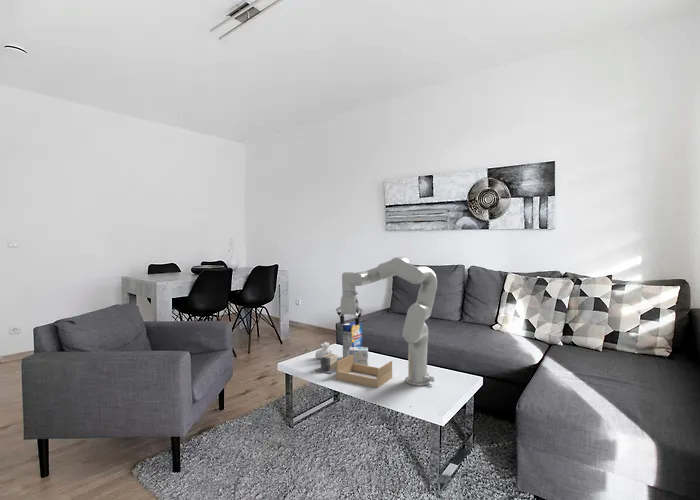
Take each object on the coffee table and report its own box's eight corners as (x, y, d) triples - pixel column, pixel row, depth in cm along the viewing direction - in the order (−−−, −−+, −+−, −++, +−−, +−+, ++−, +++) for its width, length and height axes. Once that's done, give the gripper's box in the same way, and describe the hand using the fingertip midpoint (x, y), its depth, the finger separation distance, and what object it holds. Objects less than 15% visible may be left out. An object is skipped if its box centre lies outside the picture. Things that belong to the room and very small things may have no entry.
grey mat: (341, 368, 227) (341, 366, 227) (330, 374, 217) (330, 372, 217) (327, 365, 232) (327, 364, 232) (315, 370, 222) (315, 369, 222)
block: (337, 367, 227) (337, 354, 227) (328, 371, 219) (328, 358, 219) (329, 365, 230) (329, 353, 230) (320, 369, 222) (320, 357, 222)
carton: (392, 377, 211) (392, 361, 211) (378, 387, 197) (378, 369, 197) (352, 369, 224) (352, 354, 224) (336, 378, 210) (336, 361, 210)
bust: (316, 363, 242) (322, 351, 236) (311, 354, 246) (317, 342, 241) (332, 360, 249) (339, 348, 244) (326, 350, 254) (333, 339, 248)
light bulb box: (368, 365, 233) (368, 347, 232) (367, 369, 226) (367, 350, 226) (350, 364, 234) (350, 346, 233) (348, 368, 227) (348, 349, 227)
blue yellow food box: (342, 360, 241) (342, 324, 240) (353, 356, 250) (353, 321, 249) (351, 362, 237) (351, 326, 236) (362, 358, 246) (362, 323, 245)
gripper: (365, 293, 223) (366, 324, 223) (339, 292, 232) (340, 322, 232) (359, 295, 217) (360, 326, 217) (332, 294, 225) (333, 324, 225)
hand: (349, 324), depth 224 cm, fingers open, 9 cm apart
